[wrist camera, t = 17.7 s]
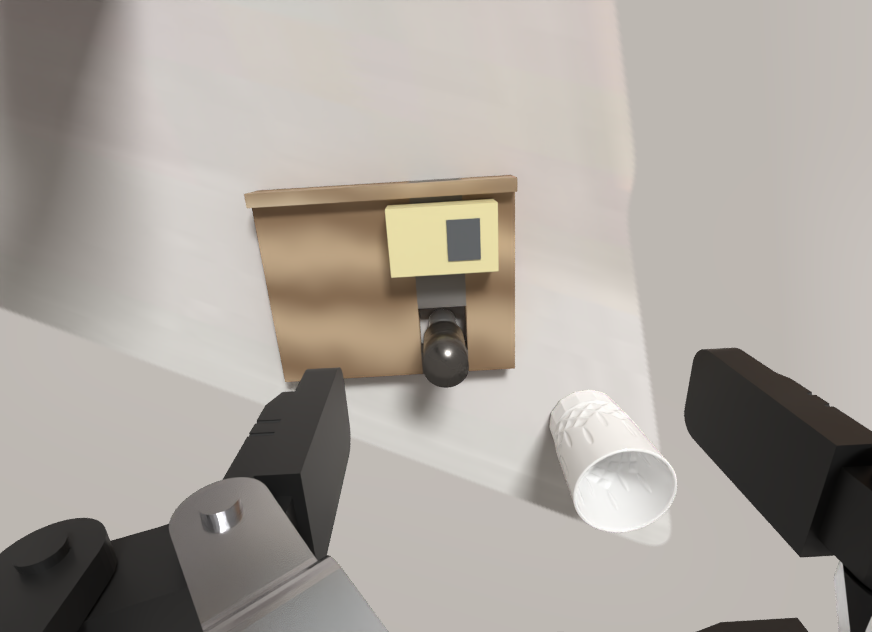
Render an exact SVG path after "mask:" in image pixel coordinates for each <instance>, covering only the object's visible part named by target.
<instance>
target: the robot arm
mask: <svg viewBox="0 0 872 632" xmlns="http://www.w3.org/2000/svg"><path fill="white" fill-rule="evenodd" d="M684 416H685V423H686V426H687V429H688V432H689V434H690V435H691V437H692V438H693V439H694V440H695V441H696V443H697V444H698V445H699V446H700V447H701V448H702V449H703V450H704V451H705V452H706V453H707V455H708V456H709V457H710V458H711V459H712V460H713V461H714V462H715V464H716V465H717V466H718V467H719V468H720V469H721V470H722V471H723V472H724V473H725V474H726V476H727V477H728V478H729V479H730V480H731V481H732V482H733V483H734V484H735V486H736V487H737V488H738V489H739V490H740V491H741V492H742V493H743V494H744V495H745V497H746V498H747V499H748V500H749V501H750V502H751V503H752V504H753V506H754V507H755V508H756V509H757V510H758V511H759V512H760V513H761V514H762V515H763V516H764V517H765V519H766V520H767V521H768V522H769V523H770V524H771V525H772V526H773V528H774V529H775V530H776V531H777V532H778V533H779V534H780V535H781V536H782V538H783V539H784V540H785V541H786V542H787V543H788V544H789V545H790V546H791V547H792V548H793V550H794V551H795V552H796V553H797V554H798V555H799V556H800V557H816V556H833V555H835V556H836V557H837V558H838V559H839V560H840V561H839V564H838V567H837V569H836V572H835V575H834V582H835V594H836V605H837V616H838V627H839V632H872V431H870V430H869V429H867V428H866V427H864V426H863V425H861V424H860V423H858V422H856V421H855V420H854V419H852V418H850V417H849V416H847V415H846V414H844V413H843V412H841V411H840V410H838V409H837V408H835V407H830V406H829V403H827V402H826V401H824V400H823V399H821V398H820V397H818V396H817V395H812V392H810V391H809V390H807V389H806V388H804V387H803V386H801V385H800V384H798V383H796V382H795V381H794V380H792V379H790V378H788V377H785V376H783V375H780V374H778V373H776V372H774V371H772V370H771V369H770V368H768V367H766V366H765V365H763V364H762V363H760V362H759V361H757V360H756V359H754V358H753V357H751V356H750V355H748V354H747V353H745V352H744V351H742V350H740V349H738V348H722V349H704V350H703V349H702V350H700V351H698V352H697V353H696V355H695V357H694V360H693V365H692V371H691V376H690V382H689V387H688V393H687V399H686V404H685V411H684ZM249 434H250V435H249V437H247V438H246V440H245V442H244V444H243V445H242V447H241V449H240V450H239V452H238V454H237V456H236V457H235V459H234V461H233V463H232V464H231V466H230V468H229V470H228V471H227V473H226V475H225V477H224V478H223V480H221V481H217V482H215V483H212V484H210V485H207V486H205V487H203V488H201V489H199V490H198V491H196V492H195V493H193V494H192V495H190V496H189V497H188V498H186V499H185V500H184V501H183V502H182V503H181V504H180V505H179V506H178V508H177V509H176V510H175V512H174V513H173V515H172V517H171V520H170V522H169V524H167V525H164V526H161V527H158V528H155V529H151V530H148V531H144V532H140V533H137V534H133V535H130V536H126V537H123V538H119V539H116V540H112V541H110V539H109V537H108V534H107V531H106V529H105V527H104V525H103V524H102V523H101V522H99V521H97V520H94V519H90V518H75V519H69V520H64V521H61V522H57V523H54V524H51V525H48V526H46V527H44V528H41V529H39V530H36V531H34V532H32V533H30V534H28V535H27V536H25V537H23V538H21V539H20V540H18V541H16V542H15V543H14V544H12V545H11V546H9V547H8V548H6V549H5V550H4V551H3V552H2V553H1V554H0V632H388V630H387V629H386V628H385V626H384V625H383V624H382V623H381V621H380V620H379V618H378V617H377V615H376V614H375V613H374V611H373V610H372V609H371V607H370V606H369V605H368V603H367V602H366V600H365V599H364V598H363V596H362V595H361V594H360V592H359V591H358V590H357V588H356V587H355V585H354V584H353V583H352V581H351V580H350V579H349V577H348V576H347V574H346V573H345V572H344V570H343V569H342V568H341V566H340V565H339V564H338V563H337V562H336V561H335V559H333V558H332V557H331V556H328V555H327V551H328V547H329V543H330V538H331V534H332V529H333V525H334V520H335V516H336V511H337V507H338V503H339V498H340V494H341V489H342V485H343V480H344V476H345V471H346V466H347V463H348V458H349V452H350V424H349V417H348V409H347V401H346V393H345V385H344V378H343V373H342V370H341V368H340V367H337V368H318V369H307V370H306V371H305V372H304V374H303V376H302V378H301V380H300V382H299V384H298V386H297V389H296V391H295V392H282V393H281V394H280V395H278V396H277V397H276V398H274V399H273V400H272V401H271V402H269V403H268V404H267V405H266V406H265V407H264V409H263V411H262V412H261V414H260V416H259V418H258V419H257V424H255V425H254V427H253V428H252V430H251V431H250V433H249ZM697 632H808V631H807V629H806V628H805V627H804V626H803V624H802V623H801V622H800V621H799V619H798V618H785V619H769V620H753V621H735V622H720V623H718V624H715V625H713V626H710V627H708V628H705V629H702V630H700V631H697Z"/></svg>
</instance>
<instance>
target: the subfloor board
mask: <svg viewBox="0 0 872 632" xmlns="http://www.w3.org/2000/svg"><path fill="white" fill-rule="evenodd" d="M515 192H517V177H515V176H512V175H503V176H487V177H470V178H454V179H438V180H422V181H405V182H389V183H373V184H357V185H341V186H324V187H308V188H292V189H276V190H259V191H255V192H251V193H247V194H244V196H245V202H246V207H247V208H252V211H253V216H254V222H255V227H256V232H257V237H258V242H259V248H260V253H261V258H262V263H263V268H264V274H265V279H266V284H267V289H268V295H269V300H270V305H271V310H272V315H273V321H274V326H275V331H276V336H277V342H278V347H279V352H280V357H281V362H282V368H283V373H284V378H285V382H293V381H300V380H301V378H302V376H303V374H304V372H305V371H306V370H307V369H318V368H337V367H340V368H341V370H342V373H343V378H360V377H377V376H394V375H411V374H424V370H423V355H424V343H421V330H420V316H419V309H422V308H438V307H455V306H465V324H466V341H465V346H466V351H467V357H468V362H469V371H478V370H494V369H511V368H515ZM481 199H494V200H495V201H497V202H498V263H499V271H494V272H477V273H461V274H445V275H428V276H412V277H395V278H391V270H390V259H389V249H388V238H387V228H386V217H385V208H386V207H387V205H399V204H416V203H432V202H448V201H465V200H481Z"/></svg>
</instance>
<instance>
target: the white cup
mask: <svg viewBox="0 0 872 632" xmlns="http://www.w3.org/2000/svg"><path fill="white" fill-rule="evenodd" d="M549 428H550V431H551V433H552V436H553V439H554V443H555V448H556V452H557V456H558V459H559V463H560V465H561V468H562V471H563V474H564V477H565V480H566V483H567V486H568V489H569V492H570V495H571V498H572V501H573V504H574V507H575V509H576V511H577V513H578V515H579V516H580V517H581V519H582V520H583V521H584V522H586V523H587V524H588V525H590V526H592V527H594V528H596V529H598V530H601V531H605V532H613V533H622V532H630V531H634V530H638V529H640V528H643V527H645V526H647V525H649V524H651V523H653V522H654V521H656V520H657V519H658V518H660V517H661V516H662V515H663V514H664V513H665V512H666V511H667V510H668V508H669V507H670V506H671V504H672V502H673V500H674V498H675V495H676V491H677V478H676V474H675V472H674V469H673V468H672V466H671V465H670V463H669V462H668V461H667V460H666V459H665V458H664V456H663V455H662V454H661V453H660V452H659V451H658V449H657V448H656V447H655V446H654V445H653V443H652V442H651V441H650V440H649V439H648V438H647V436H646V435H645V434H644V433H643V432H642V430H641V429H640V428H639V427H638V426H637V425H636V424H635V423H634V422H633V420H632V419H631V418H630V417H629V416H628V415H627V414H626V413H625V412H624V411H623V410H621V408H620V407H619V406H618V405H617V403H616V402H614V401H613V400H612V399H611V398H610V397H609V396H608V395H606V394H605V393H602V392H598V391H594V390H584V391H577V392H573V393H571V394H570V395H568V396H566V397H565V398H563V399H561V400H560V401H559V402H558V404H557V405H556V407H555V408H554V409H553V411H552V412H551V417H550V424H549Z"/></svg>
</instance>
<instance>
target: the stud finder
mask: <svg viewBox="0 0 872 632" xmlns="http://www.w3.org/2000/svg"><path fill="white" fill-rule="evenodd" d="M385 217H386V228H387V238H388V249H389V259H390V270H391V278H395V277H412V276H428V275H445V274H461V273H477V272H494V271H499V263H498V202H497V201H495V200H494V199H481V200H465V201H448V202H432V203H416V204H399V205H387V207H386V208H385Z"/></svg>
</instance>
